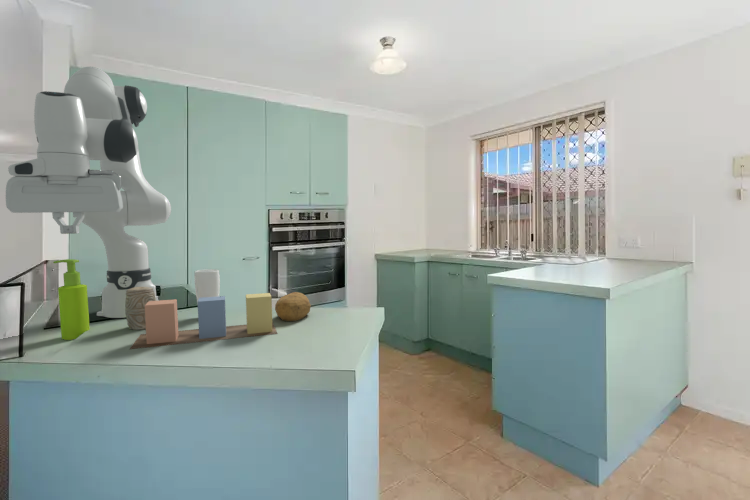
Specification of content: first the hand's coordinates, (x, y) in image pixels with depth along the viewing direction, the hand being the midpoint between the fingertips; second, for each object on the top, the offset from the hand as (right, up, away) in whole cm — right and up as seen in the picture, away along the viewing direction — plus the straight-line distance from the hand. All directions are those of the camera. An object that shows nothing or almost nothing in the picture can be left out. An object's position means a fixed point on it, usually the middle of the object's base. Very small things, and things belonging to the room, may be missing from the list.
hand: (70, 233), depth 87 cm
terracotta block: (+16, -25, +8) cm, 31 cm away
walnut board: (+25, -26, +12) cm, 38 cm away
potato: (+42, -25, +29) cm, 57 cm away
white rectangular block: (+17, -25, +31) cm, 43 cm away
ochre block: (+37, -24, +15) cm, 47 cm away
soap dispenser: (-11, -26, +16) cm, 33 cm away
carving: (+4, -26, +20) cm, 33 cm away
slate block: (+26, -25, +11) cm, 38 cm away
